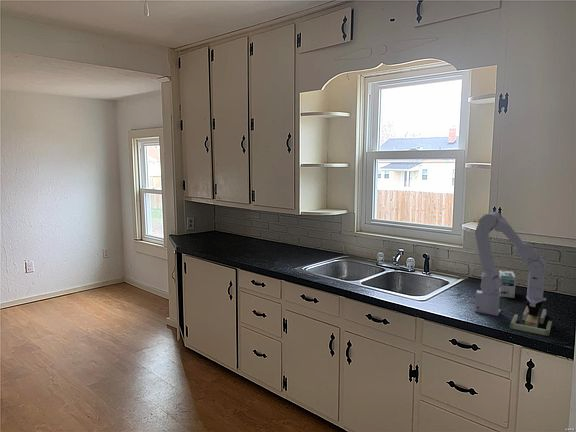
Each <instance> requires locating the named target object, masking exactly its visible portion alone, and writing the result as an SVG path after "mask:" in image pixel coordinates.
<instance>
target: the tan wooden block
mask: <svg viewBox="0 0 576 432" xmlns="http://www.w3.org/2000/svg"><path fill="white" fill-rule="evenodd" d="M524 322H525V323H524V325H526V326H531V327H536V328H538V326H537V324H538V325H539V322H538V320H536V319H530V318H526V320H524Z"/></svg>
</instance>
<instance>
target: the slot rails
mask: <svg viewBox="0 0 576 432" xmlns="http://www.w3.org/2000/svg"><path fill="white" fill-rule="evenodd" d="M528 315H529V309H528V306H527V305H526V306H525V309H524V311H523V312H522V317H521V318H522V321H525V320H526V318H527V316H528ZM546 317H547V308H543V309H542V311H541V315H540V316H539V324H541V325H543V324H544V322H545V319H546Z"/></svg>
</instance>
